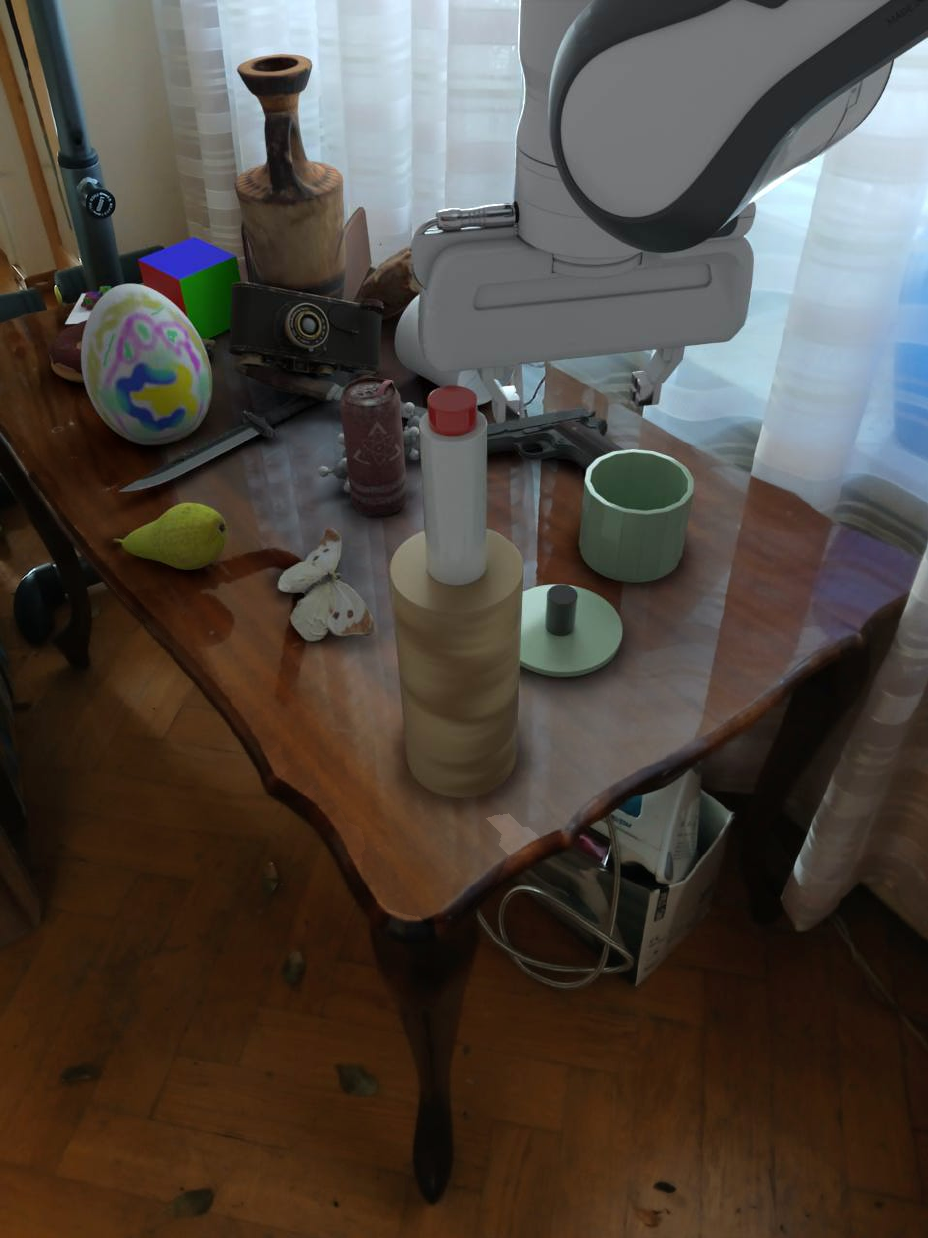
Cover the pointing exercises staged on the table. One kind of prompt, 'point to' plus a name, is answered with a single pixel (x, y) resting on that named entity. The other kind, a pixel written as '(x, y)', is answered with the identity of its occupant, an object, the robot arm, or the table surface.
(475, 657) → the pedestal
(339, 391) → the knife
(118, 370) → the decorative egg
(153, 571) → the table surface
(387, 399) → the can
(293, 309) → the camera
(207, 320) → the cube
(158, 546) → the fruit
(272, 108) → the vase
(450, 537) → the spice bottle
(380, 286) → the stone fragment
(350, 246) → the letter holder
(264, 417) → the knife
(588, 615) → the pot lid
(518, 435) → the handgun
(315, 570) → the butterfly
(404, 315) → the light fixture
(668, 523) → the pot
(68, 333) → the donut
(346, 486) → the molecular model
